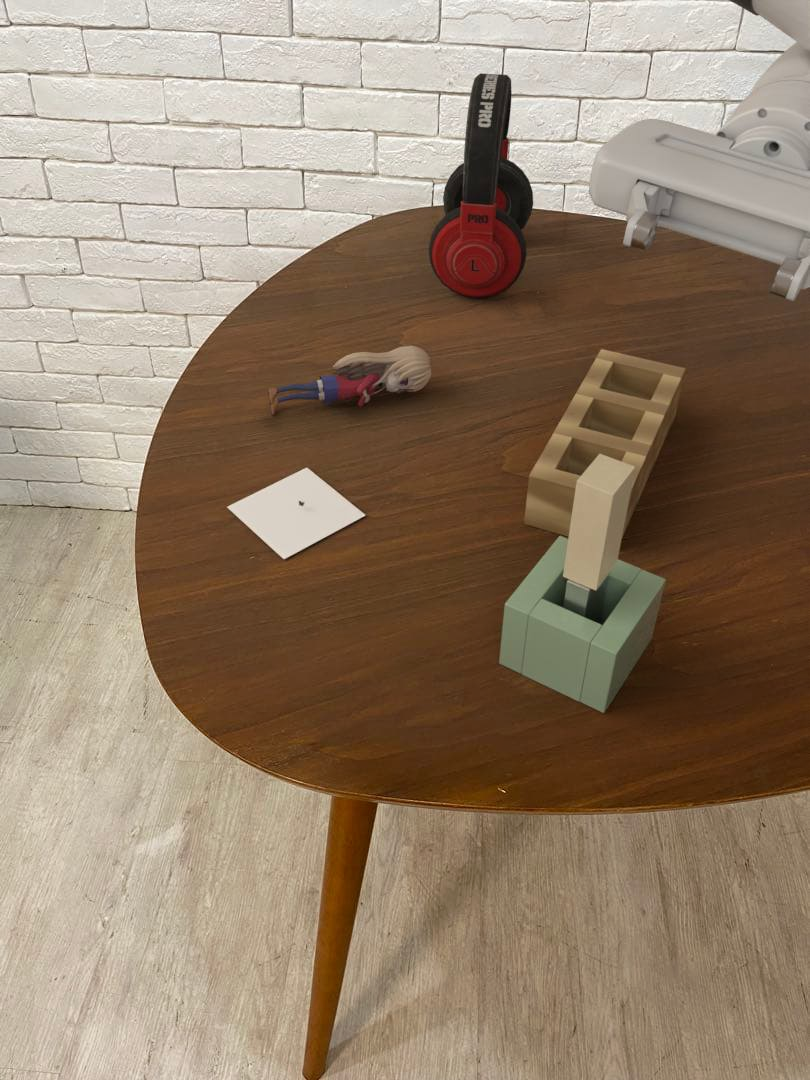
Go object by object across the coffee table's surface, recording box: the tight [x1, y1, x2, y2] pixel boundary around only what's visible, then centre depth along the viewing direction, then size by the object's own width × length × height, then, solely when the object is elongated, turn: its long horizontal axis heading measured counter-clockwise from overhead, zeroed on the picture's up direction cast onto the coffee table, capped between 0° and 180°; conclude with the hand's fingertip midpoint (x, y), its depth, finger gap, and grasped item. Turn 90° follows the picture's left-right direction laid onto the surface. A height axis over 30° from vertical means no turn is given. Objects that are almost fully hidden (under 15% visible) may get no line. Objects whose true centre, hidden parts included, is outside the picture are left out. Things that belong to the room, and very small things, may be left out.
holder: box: [498, 535, 667, 714], centre depth 72 cm, size 8×8×6 cm
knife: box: [563, 454, 635, 624], centre depth 68 cm, size 2×4×16 cm, turn 147°
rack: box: [523, 348, 687, 541], centre depth 87 cm, size 20×8×5 cm, turn 156°
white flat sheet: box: [226, 467, 366, 560], centre depth 84 cm, size 8×8×1 cm
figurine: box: [267, 345, 432, 416], centre depth 94 cm, size 6×4×15 cm
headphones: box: [428, 72, 534, 299], centre depth 108 cm, size 18×10×20 cm, turn 172°
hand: (708, 262), depth 63 cm, fingers open, 8 cm apart
